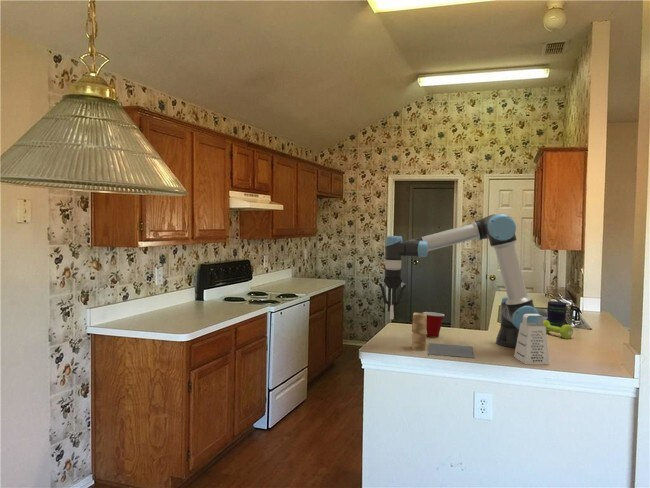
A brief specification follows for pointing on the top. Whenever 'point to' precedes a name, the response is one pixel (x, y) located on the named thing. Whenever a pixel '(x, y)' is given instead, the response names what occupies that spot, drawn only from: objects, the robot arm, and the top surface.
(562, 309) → the storage jar
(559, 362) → the top surface
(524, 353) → the grater
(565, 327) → the dumbbell
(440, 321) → the plastic cup
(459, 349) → the mat
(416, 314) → the oak block
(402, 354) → the top surface
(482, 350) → the top surface
